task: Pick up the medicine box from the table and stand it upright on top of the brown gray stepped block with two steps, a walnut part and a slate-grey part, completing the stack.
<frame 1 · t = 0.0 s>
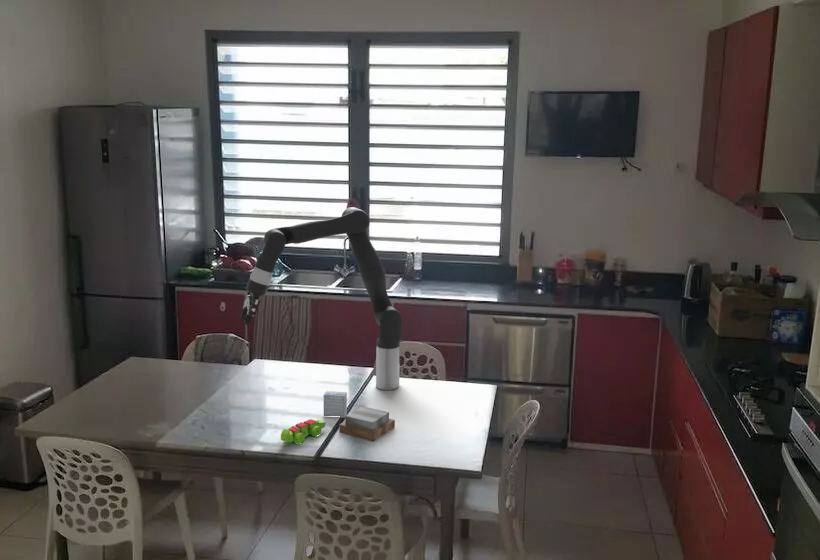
hand: (244, 321, 286), 31 cm above the table, tool tilted 20°, fingers open, 8 cm apart
brown gray stepped block: (367, 430, 269), on the table
medicine box: (335, 416, 281), on the table
toy crocodile: (303, 438, 261), on the table
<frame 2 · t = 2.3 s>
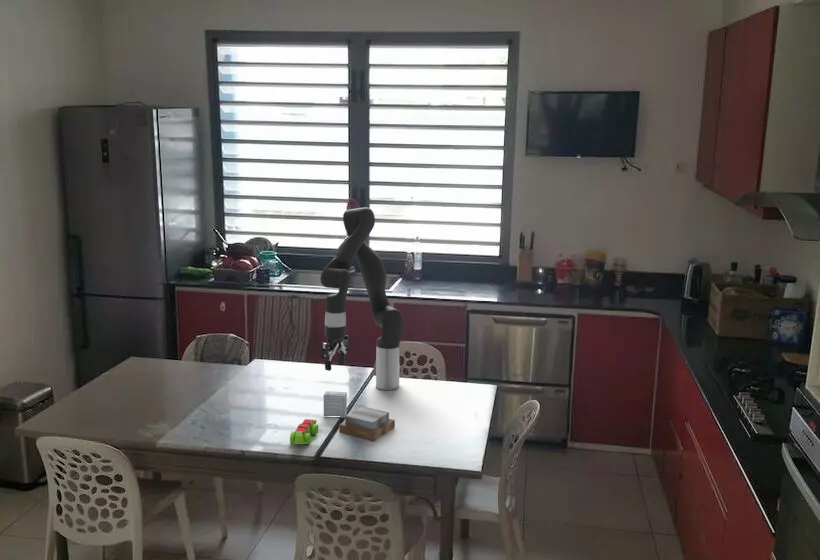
hand: (335, 367, 277), 19 cm above the table, tool pointing down, fingers open, 8 cm apart
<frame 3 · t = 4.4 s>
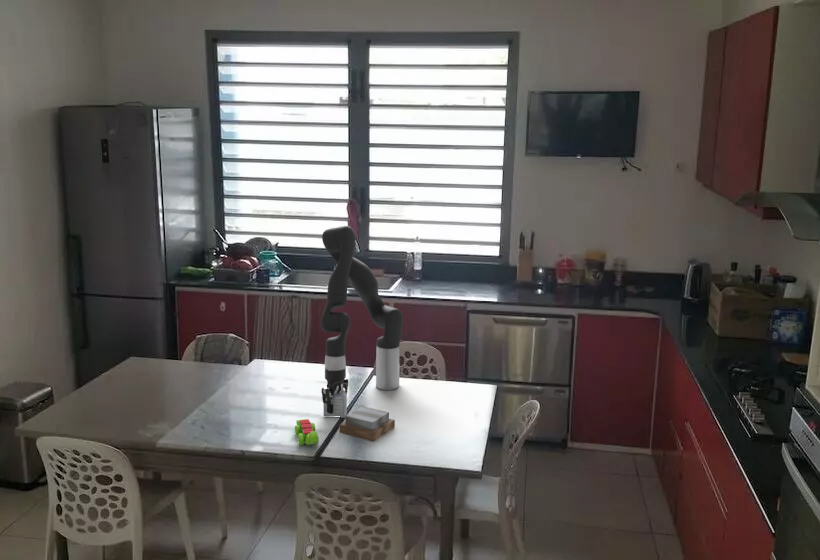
hand: (335, 410, 281), 2 cm above the table, tool pointing down, fingers closed on medicine box, 5 cm apart
medicine box: (335, 416, 281), on the table, touching gripper
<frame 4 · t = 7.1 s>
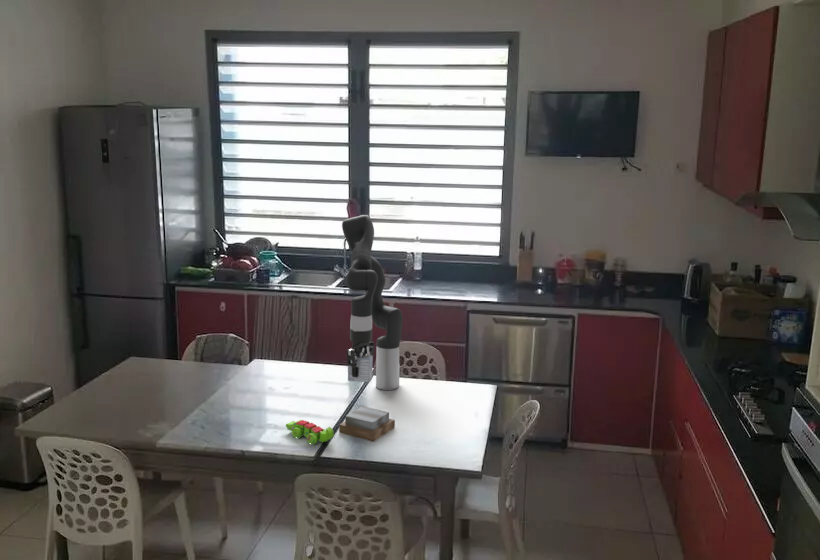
hand: (360, 374, 266), 20 cm above the table, tool pointing down, fingers closed on medicine box, 5 cm apart
medicine box: (360, 380, 267), point 18 cm above the table, touching gripper
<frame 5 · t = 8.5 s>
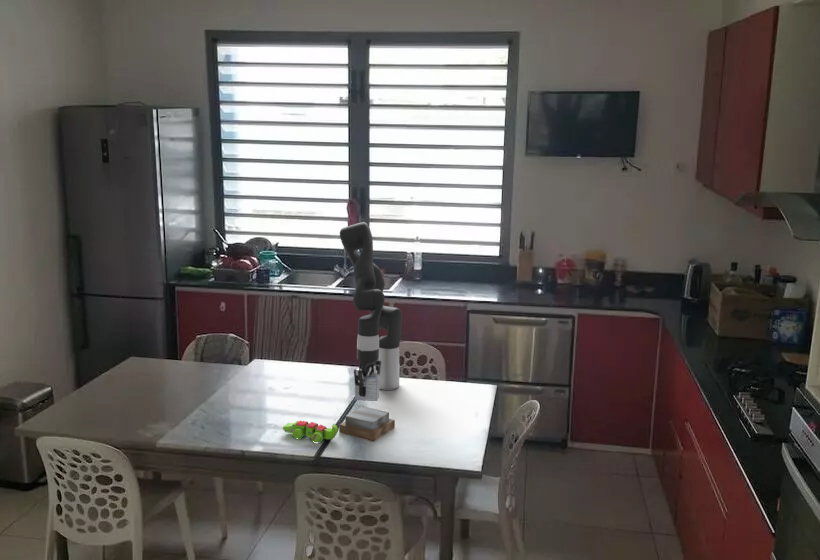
hand: (367, 393, 266), 14 cm above the table, tool pointing down, fingers closed on medicine box, 5 cm apart
medicine box: (367, 399, 267), point 11 cm above the table, touching gripper
when the fingers open (9 cm above the table, at t = 9.8 s): medicine box stays where it is, resting on brown gray stepped block.
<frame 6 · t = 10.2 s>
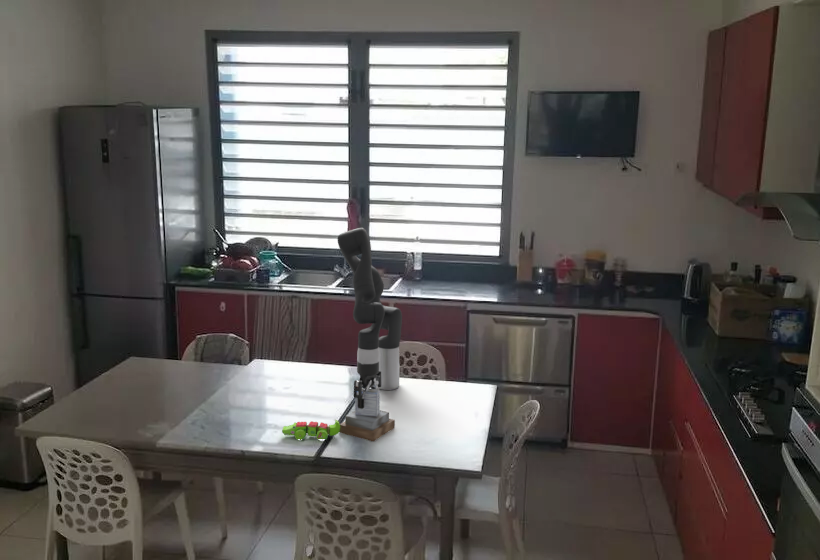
hand: (367, 404, 267), 10 cm above the table, tool pointing down, fingers open, 8 cm apart
medicine box: (367, 414, 268), point 6 cm above the table, touching brown gray stepped block
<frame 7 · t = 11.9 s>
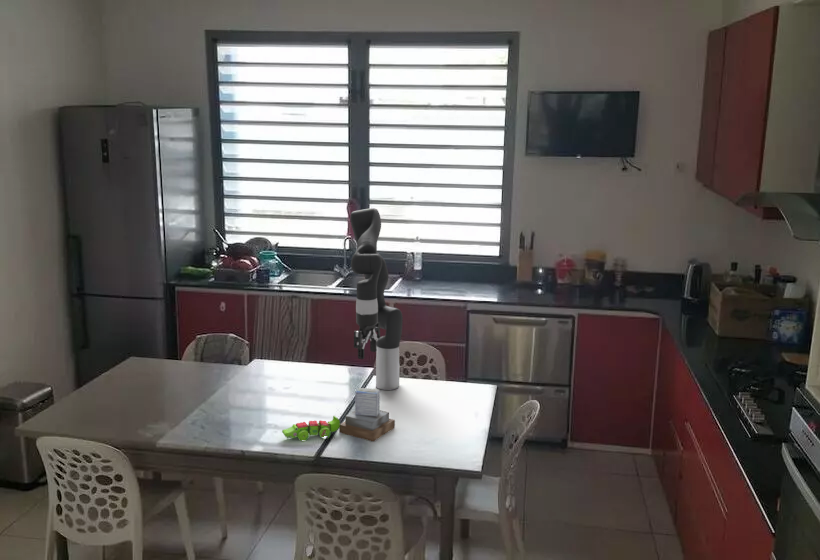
hand: (367, 355, 270), 25 cm above the table, tool pointing down, fingers open, 8 cm apart
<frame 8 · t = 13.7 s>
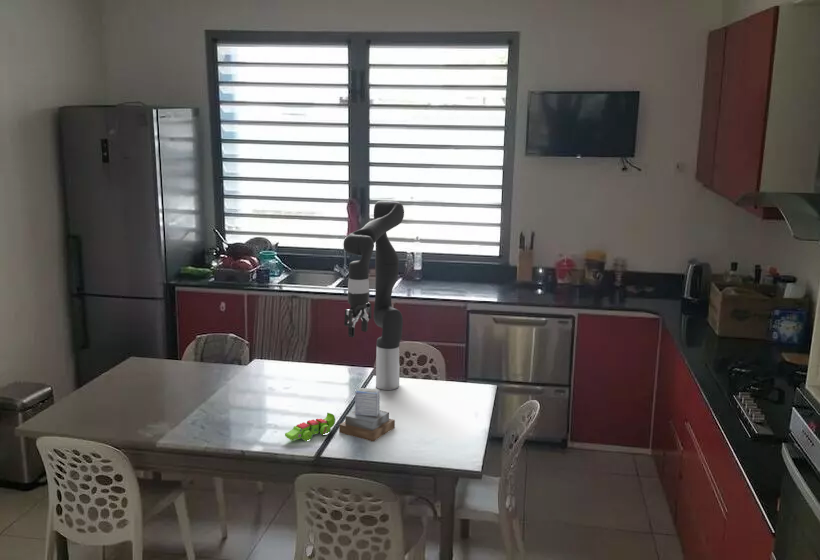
hand: (358, 334, 279), 30 cm above the table, tool pointing down, fingers open, 8 cm apart
at the end: medicine box inside the target area on the brown gray stepped block (0.1 cm from its centre), point 5.8 cm above the brown gray stepped block's base; medicine box tilted 0°; the gripper is holding nothing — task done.
